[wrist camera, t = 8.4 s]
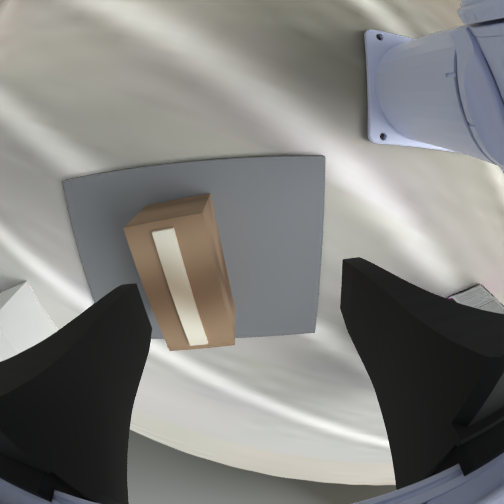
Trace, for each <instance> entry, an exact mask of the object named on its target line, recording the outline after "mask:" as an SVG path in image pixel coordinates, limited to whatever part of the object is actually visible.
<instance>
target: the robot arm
mask: <svg viewBox="0 0 504 504" xmlns="http://www.w3.org/2000/svg"><path fill="white" fill-rule="evenodd" d="M460 6H461V8H459V9H458V11H457V12H458V15H459V17H460V18H461V20H462V22H463V23H464V24H466V25H463V26H459V27H455V28H451V29H447V30H444V31H440V32H437V33H433V34H430V35H427V36H423V37H420V38H417V39H412V38H408V37H404V36H400V35H396V34H392V33H387V32H383V31H378V30H373V29H369V30H367V31H366V32H365V33H364V40H365V53H366V69H367V95H368V139H369V140H370V141H371V142H373V143H377V144H390V145H401V146H411V147H420V148H428V149H436V150H443V151H450V152H457V153H462V154H465V155H468V156H472V157H475V158H478V159H481V160H484V161H487V162H490V163H492V164H495V165H498V166H499V167H500V168H501V169H502V171H503V173H504V0H461V3H460ZM376 35H379V36H380V37H381V41H380V40H378V39H377V37H376ZM381 133H383V134H384V139H383V140H381V139H380V134H381ZM340 309H341V312H342V315H343V318H344V321H345V324H346V327H347V330H348V333H349V335H350V337H351V339H352V341H353V343H354V345H355V347H356V349H357V351H358V354H359V356H360V358H361V360H362V362H363V364H364V366H365V368H366V370H367V372H368V375H369V377H370V379H371V381H372V384H373V386H374V389H375V392H376V395H377V399H378V402H379V405H380V408H381V412H382V416H383V419H384V423H385V427H386V431H387V435H388V440H389V445H390V449H391V454H392V460H393V466H394V473H395V480H396V489H397V490H396V491H393V492H390V493H387V494H384V495H380V496H377V497H374V498H371V499H367V500H364V501H360V502H356V503H352V504H504V314H501V313H495V312H490V311H486V310H481V309H477V308H474V307H470V306H467V305H463V304H460V303H457V302H454V301H451V300H448V299H446V298H443V297H440V296H438V295H435V294H433V293H430V292H428V291H426V290H424V289H422V288H420V287H417V286H415V285H413V284H411V283H409V282H407V281H405V280H403V279H401V278H399V277H397V276H395V275H394V274H392V273H390V272H388V271H386V270H384V269H382V268H380V267H379V266H377V265H375V264H373V263H371V262H369V261H367V260H365V259H362V258H360V257H358V258H350V259H343V265H342V288H341V305H340ZM151 334H152V326H151V323H150V321H149V318H148V315H147V312H146V310H145V307H144V304H143V301H142V298H141V295H140V292H139V289H138V286H137V283H133V284H122V285H120V286H118V287H116V288H115V289H113V290H112V291H110V292H109V293H108V294H106V295H105V296H104V297H102V298H101V299H100V300H98V301H97V302H96V303H95V304H93V305H92V306H91V307H89V308H88V309H87V310H85V311H84V312H83V313H82V314H80V315H79V316H78V317H76V318H75V319H73V320H72V321H71V322H69V323H68V324H67V325H65V326H64V327H63V328H61V329H60V330H58V331H57V332H55V333H54V334H52V335H51V336H49V337H48V338H46V339H44V340H43V341H41V342H39V343H38V344H36V345H34V346H32V347H30V348H28V349H26V350H25V351H23V352H21V353H19V354H17V355H15V356H13V357H11V358H8V359H6V360H4V361H1V362H0V504H128V490H127V452H128V438H129V429H130V421H131V414H132V408H133V404H134V400H135V396H136V393H137V389H138V386H139V383H140V379H141V376H142V373H143V369H144V366H145V363H146V359H147V356H148V352H149V347H150V341H151Z"/></svg>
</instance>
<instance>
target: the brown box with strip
mask: <svg viewBox="0 0 504 504" xmlns="http://www.w3.org/2000/svg"><path fill="white" fill-rule="evenodd" d="M124 232H125V235H126V238H127V241H128V244H129V247H130V250H131V253H132V256H133V259H134V262H135V265H136V268H137V270H138V273H139V276H140V279H141V282H142V284H143V287H144V290H145V292H146V295H147V297H148V300H149V303H150V305H151V308H152V310H153V313H154V315H155V318H156V320H157V322H158V325H159V327H160V330H161V332H162V334H163V337H164V339H165V341H166V343H167V346H168V348H169V350H170V351H174V350H188V349H200V348H210V347H220V346H230V345H235V311H236V309H235V304H234V300H233V295H232V291H231V287H230V282H229V278H228V273H227V269H226V264H225V260H224V255H223V251H222V246H221V241H220V237H219V232H218V227H217V222H216V218H215V213H214V208H213V203H212V198H211V193H208V194H202V195H197V196H191V197H186V198H181V199H176V200H171V201H166V202H161V203H156V204H151V205H147V206H144V207H143V208H142V209H141V210H140V211H139V212H138V213H137V214H136V215H135V216H134V217H133V218H132V219H131V221H130V222H129V223H128V224H127V225H126V226H125V227H124Z"/></svg>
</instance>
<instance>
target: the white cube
mask: <svg viewBox="0 0 504 504" xmlns="http://www.w3.org/2000/svg"><path fill="white" fill-rule="evenodd" d="M57 331H58V329H57V328H56V326H55V325H54V323H53V322H52V320H51V319H50V317H49V316H48V314H47V313H46V311H45V310H44V308H43V306H42V305H41V303H40V302H39V300H38V298H37V297H36V295H35V293H34V292H33V290H32V288H31V287H30V285H29V283H28V282H27V281H26V282H24V283H21V284H19V285H17V286H14V287H12V288H10V289H7V290H5V291H3V292H0V362H1V361H4V360H6V359H8V358H11V357H13V356H15V355H17V354H19V353H21V352H23V351H25V350H26V349H28V348H30V347H32V346H34V345H36V344H38V343H39V342H41V341H43V340H44V339H46V338H48V337H49V336H51V335H52V334H54V333H55V332H57Z"/></svg>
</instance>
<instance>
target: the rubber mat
mask: <svg viewBox="0 0 504 504" xmlns="http://www.w3.org/2000/svg"><path fill="white" fill-rule="evenodd" d="M63 186H64V191H65V196H66V201H67V206H68V211H69V215H70V219H71V224H72V228H73V232H74V236H75V240H76V243H77V247H78V251H79V254H80V258H81V261H82V264H83V268H84V271H85V274H86V277H87V280H88V283H89V286H90V289H91V292H92V295H93V298H94V301H95V303H96V302H97V301H98V300H100V299H101V298H102V297H104V296H105V295H106V294H108V293H109V292H110V291H112V290H113V289H115V288H116V287H118V286H120V285H122V284H133V283H137V286H138V289H139V292H140V295H141V298H142V301H143V304H144V307H145V310H146V312H147V315H148V318H149V321H150V323H151V326H152V334H151V339H164V337H163V334H162V332H161V330H160V327H159V325H158V322H157V320H156V318H155V315H154V313H153V310H152V308H151V305H150V303H149V300H148V297H147V295H146V292H145V290H144V287H143V284H142V282H141V279H140V276H139V273H138V270H137V268H136V265H135V262H134V259H133V256H132V253H131V250H130V247H129V244H128V241H127V238H126V235H125V232H124V227H125V226H126V225H127V224H128V223H129V222H130V221H131V219H132V218H133V217H134V216H135V215H136V214H137V213H138V212H139V211H140V210H141V209H142V208H143V207H144V206H147V205H151V204H156V203H161V202H166V201H171V200H176V199H181V198H186V197H191V196H197V195H202V194H208V193H211V198H212V203H213V208H214V213H215V218H216V222H217V227H218V232H219V237H220V241H221V246H222V251H223V255H224V260H225V264H226V269H227V273H228V278H229V282H230V287H231V291H232V295H233V300H234V304H235V309H236V311H235V338H243V337H263V336H279V335H292V334H304V333H315V326H316V316H317V306H318V295H319V284H320V271H321V256H322V240H323V220H324V193H325V156H261V157H240V158H224V159H210V160H198V161H187V162H177V163H168V164H160V165H151V166H144V167H136V168H129V169H123V170H116V171H110V172H104V173H98V174H92V175H87V176H81V177H76V178H71V179H66V180H64V181H63Z"/></svg>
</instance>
